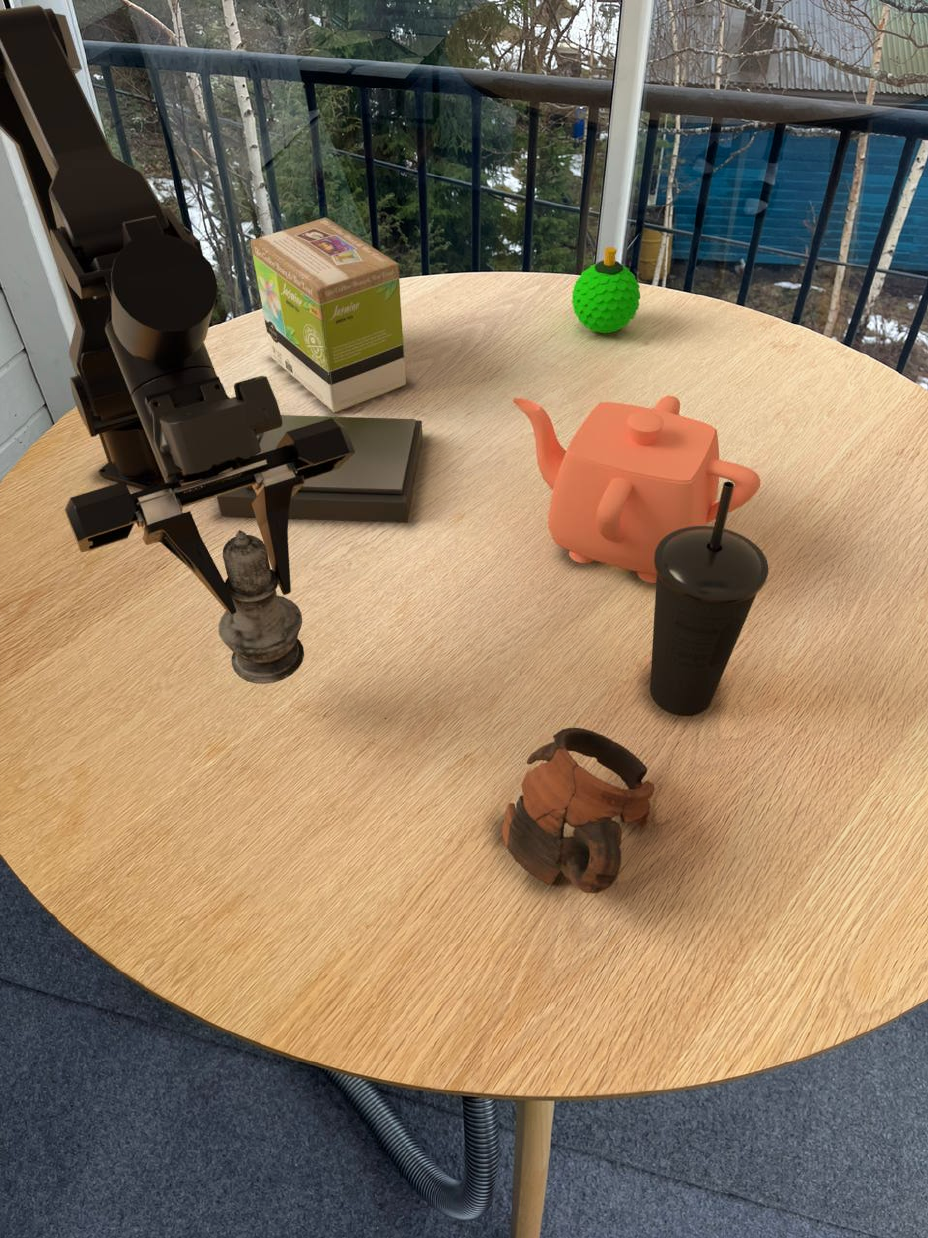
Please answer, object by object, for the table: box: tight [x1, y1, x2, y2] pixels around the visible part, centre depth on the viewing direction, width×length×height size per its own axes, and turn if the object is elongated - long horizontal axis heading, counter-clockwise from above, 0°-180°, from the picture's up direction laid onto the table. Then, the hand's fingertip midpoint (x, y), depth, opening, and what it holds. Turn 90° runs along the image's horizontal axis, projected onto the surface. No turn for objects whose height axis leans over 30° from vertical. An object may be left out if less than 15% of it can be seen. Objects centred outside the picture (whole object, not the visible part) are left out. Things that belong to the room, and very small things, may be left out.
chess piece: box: [218, 529, 305, 685], centre depth 65 cm, size 6×6×12 cm
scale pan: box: [245, 414, 417, 494], centre depth 92 cm, size 15×12×1 cm
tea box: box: [250, 217, 407, 413], centre depth 104 cm, size 15×10×15 cm, turn 36°
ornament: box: [571, 246, 641, 334], centre depth 112 cm, size 8×8×10 cm
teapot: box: [512, 395, 761, 584], centre depth 82 cm, size 17×16×13 cm
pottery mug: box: [501, 727, 656, 894], centre depth 62 cm, size 12×10×8 cm
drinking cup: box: [649, 481, 770, 717], centre depth 66 cm, size 8×8×20 cm
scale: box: [216, 419, 424, 524], centre depth 94 cm, size 18×14×3 cm
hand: (260, 603), depth 63 cm, fingers closed on chess piece, 3 cm apart
